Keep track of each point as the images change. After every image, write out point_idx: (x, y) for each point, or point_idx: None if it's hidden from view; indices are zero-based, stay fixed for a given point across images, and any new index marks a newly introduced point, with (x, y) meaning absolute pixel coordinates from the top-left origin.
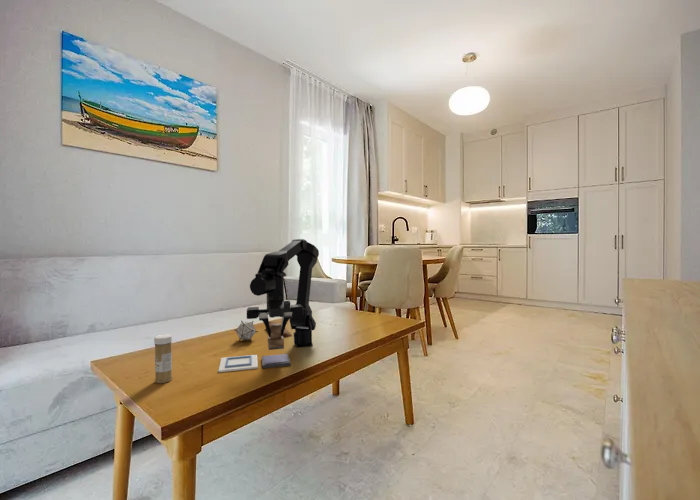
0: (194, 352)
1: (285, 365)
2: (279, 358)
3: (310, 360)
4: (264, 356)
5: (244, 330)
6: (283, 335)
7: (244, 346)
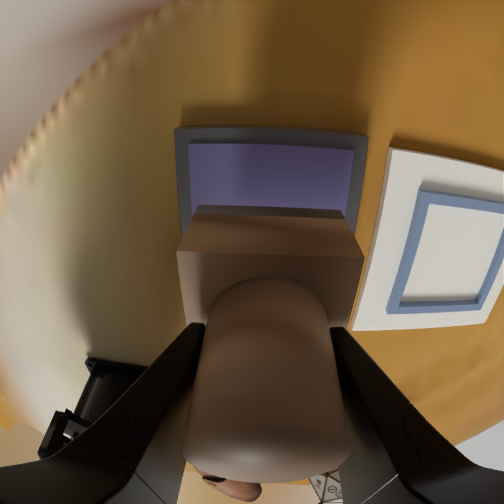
0: (499, 381)
1: (212, 126)
2: None
3: (69, 184)
4: None
5: None
6: None
7: None
